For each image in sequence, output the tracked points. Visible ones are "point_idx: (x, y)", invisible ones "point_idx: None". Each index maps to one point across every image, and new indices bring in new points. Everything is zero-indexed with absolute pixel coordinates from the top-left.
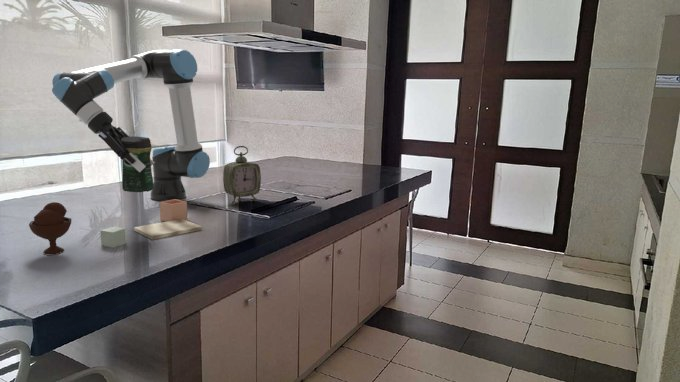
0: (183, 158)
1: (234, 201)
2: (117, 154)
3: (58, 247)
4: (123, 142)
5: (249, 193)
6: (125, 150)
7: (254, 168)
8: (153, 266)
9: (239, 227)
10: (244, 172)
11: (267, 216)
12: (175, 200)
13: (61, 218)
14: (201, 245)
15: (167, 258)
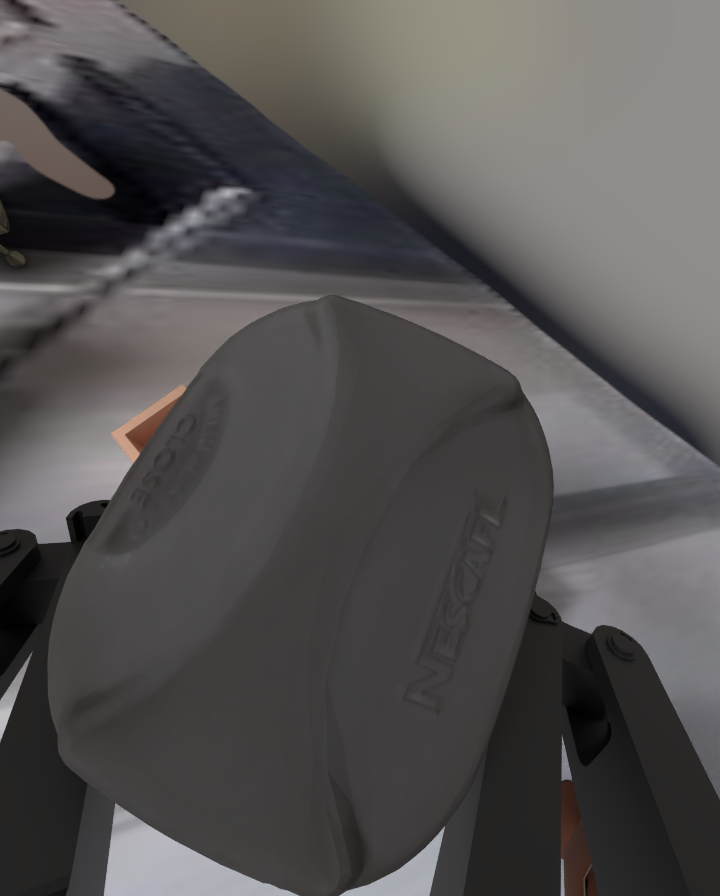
0: None
1: (14, 252)
2: (609, 728)
3: (575, 808)
4: (481, 745)
5: None
6: (559, 642)
7: None
8: (669, 467)
9: (341, 270)
10: None
11: (228, 192)
12: (130, 432)
13: None
14: (506, 365)
15: (611, 440)
